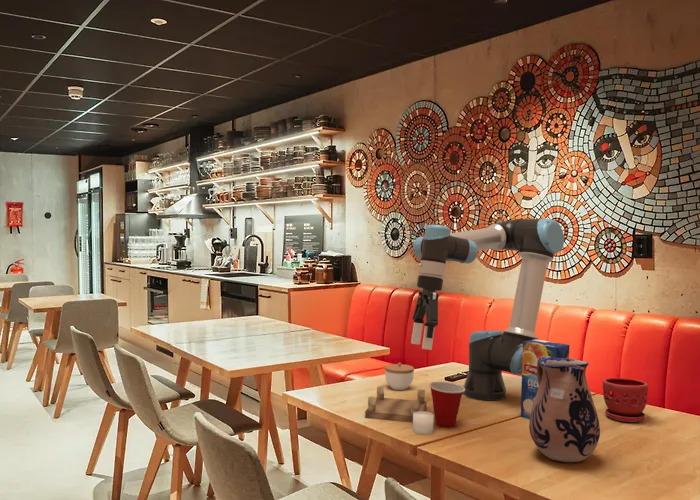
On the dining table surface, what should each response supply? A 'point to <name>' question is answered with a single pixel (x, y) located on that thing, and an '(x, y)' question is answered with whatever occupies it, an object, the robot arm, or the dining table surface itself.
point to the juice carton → (529, 368)
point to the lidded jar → (399, 376)
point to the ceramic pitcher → (564, 411)
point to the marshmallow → (423, 422)
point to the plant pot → (625, 399)
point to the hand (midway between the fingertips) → (420, 346)
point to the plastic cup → (446, 402)
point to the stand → (394, 407)
